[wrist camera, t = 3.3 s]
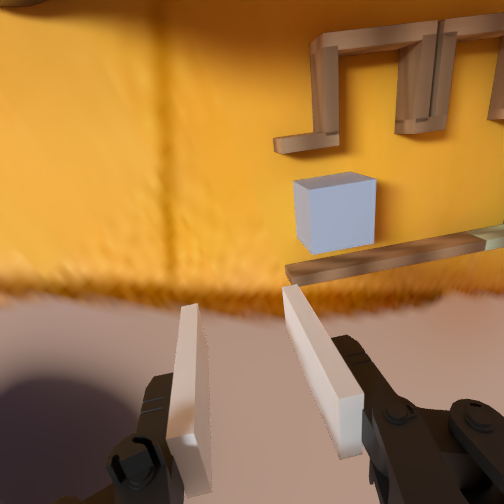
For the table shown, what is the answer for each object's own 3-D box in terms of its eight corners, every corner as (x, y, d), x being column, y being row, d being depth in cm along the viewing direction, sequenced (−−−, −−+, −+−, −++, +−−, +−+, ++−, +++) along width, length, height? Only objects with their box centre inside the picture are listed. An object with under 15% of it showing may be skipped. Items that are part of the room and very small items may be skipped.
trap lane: (285, 274, 33) (295, 290, 30) (264, 48, 25) (274, 36, 21) (509, 232, 36) (540, 242, 32) (560, 14, 27) (609, -2, 24)
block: (296, 236, 32) (312, 254, 27) (292, 180, 29) (309, 190, 25) (349, 227, 32) (373, 243, 28) (349, 171, 30) (376, 179, 25)
